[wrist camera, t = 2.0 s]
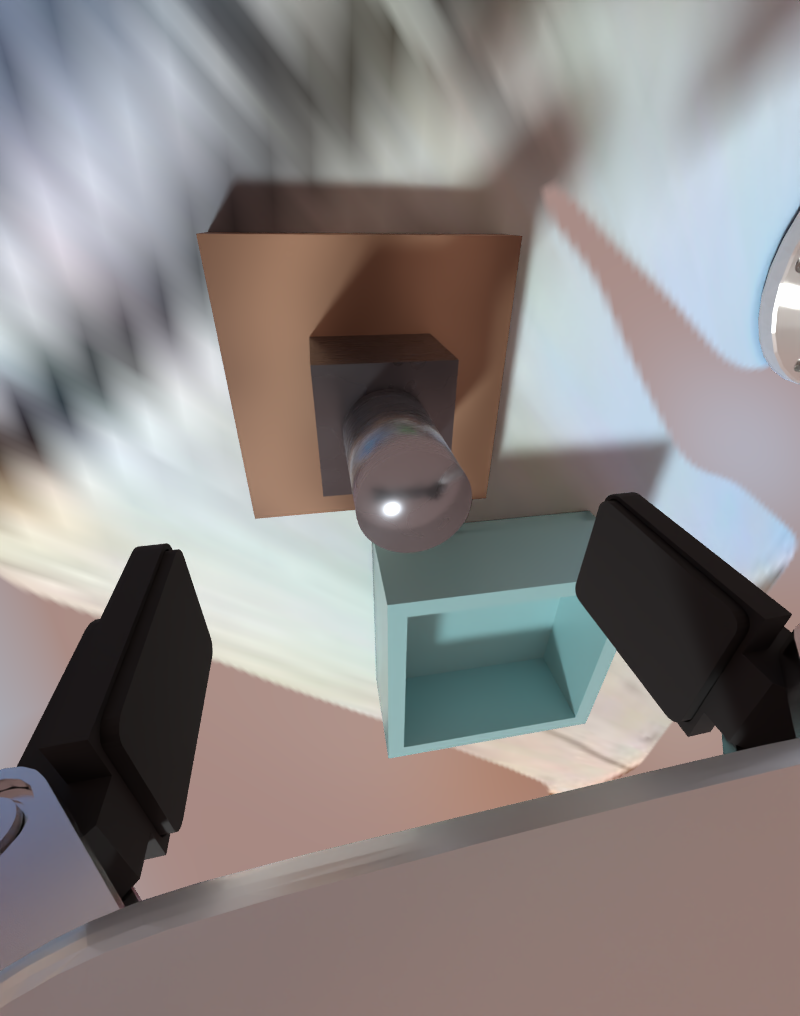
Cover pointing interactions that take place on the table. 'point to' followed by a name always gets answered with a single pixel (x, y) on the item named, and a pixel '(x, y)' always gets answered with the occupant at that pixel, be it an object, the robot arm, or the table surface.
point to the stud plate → (348, 312)
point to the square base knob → (390, 435)
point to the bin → (486, 634)
